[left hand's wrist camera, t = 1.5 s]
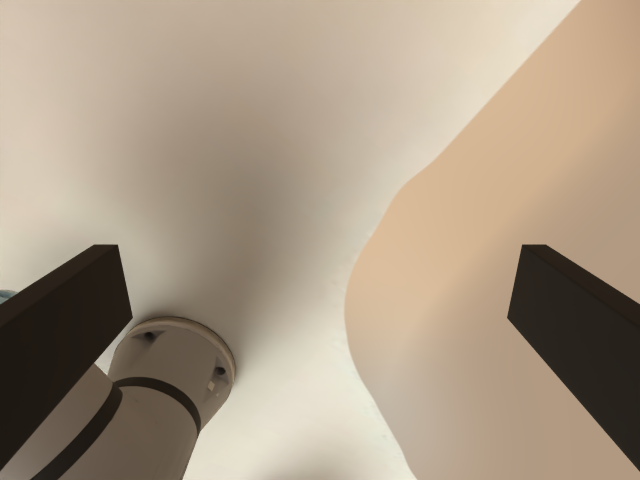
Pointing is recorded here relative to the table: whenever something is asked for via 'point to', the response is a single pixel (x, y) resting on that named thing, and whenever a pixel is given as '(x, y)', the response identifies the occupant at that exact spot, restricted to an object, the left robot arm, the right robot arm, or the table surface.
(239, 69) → the table surface
